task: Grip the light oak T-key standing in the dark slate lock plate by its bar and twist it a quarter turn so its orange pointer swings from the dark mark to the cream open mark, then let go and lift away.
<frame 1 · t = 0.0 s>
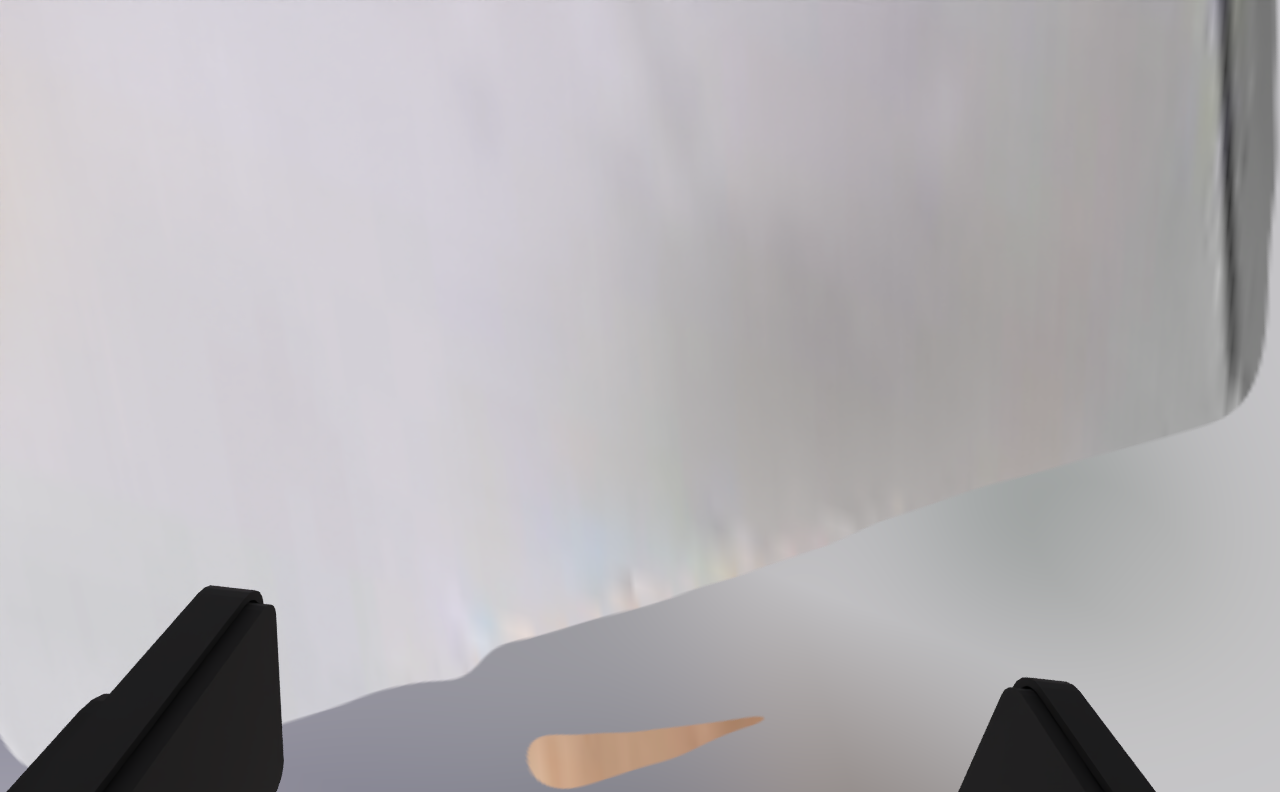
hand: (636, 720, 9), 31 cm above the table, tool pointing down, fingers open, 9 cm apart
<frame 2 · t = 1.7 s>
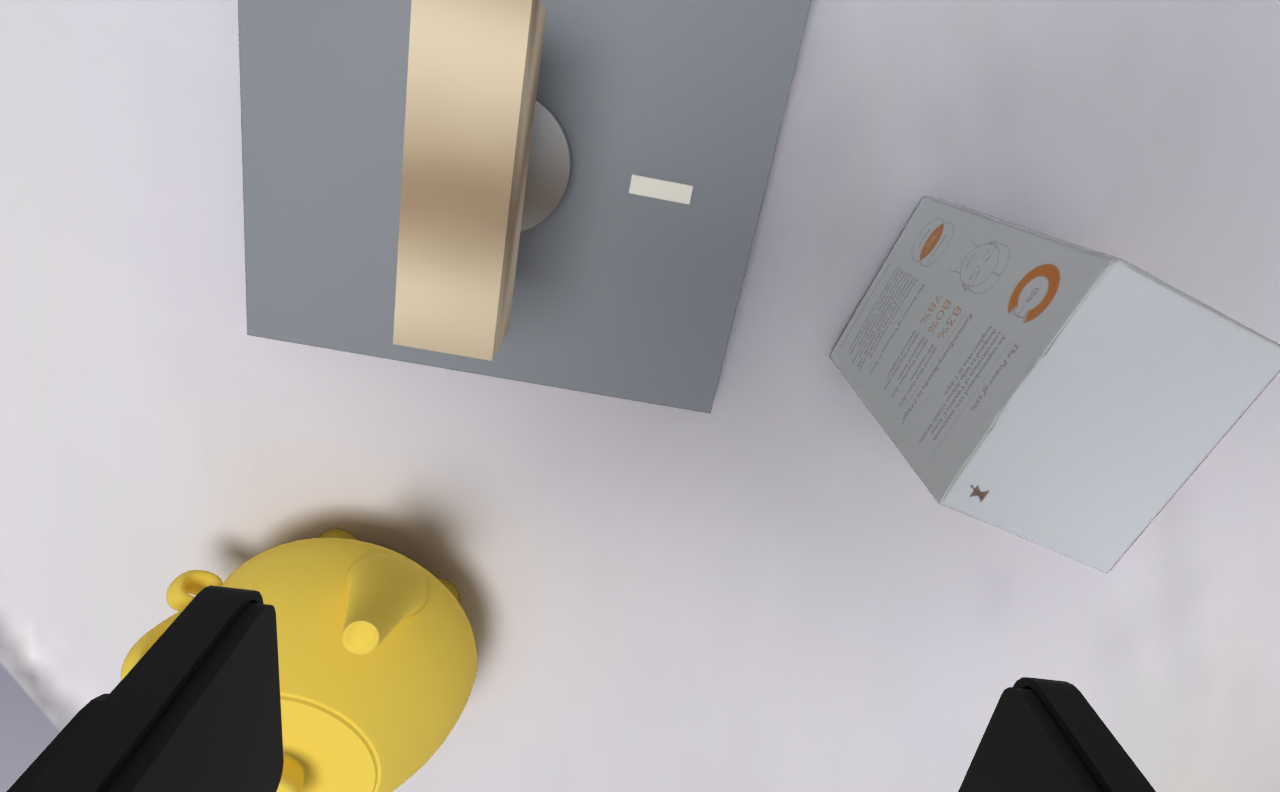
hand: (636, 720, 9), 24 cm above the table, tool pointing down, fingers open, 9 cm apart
small box: (931, 305, 32), on the table
t key: (485, 170, 24), point 6 cm above the table, hinge at 0.0°
lock plate: (515, 155, 29), on the table
teapot: (352, 598, 38), on the table
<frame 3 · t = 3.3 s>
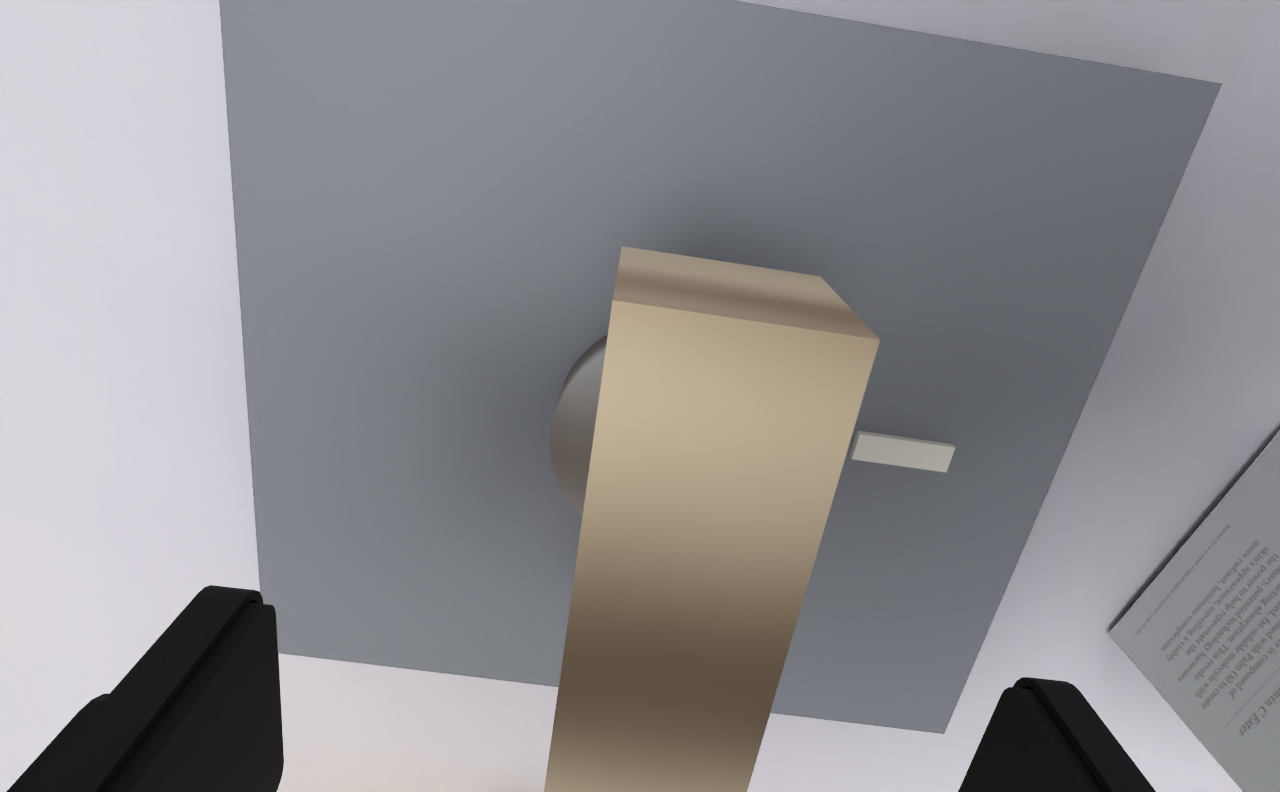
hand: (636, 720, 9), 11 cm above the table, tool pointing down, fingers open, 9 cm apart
small box: (1266, 562, 22), on the table
t key: (665, 510, 14), point 6 cm above the table, hinge at 0.0°
lock plate: (660, 385, 19), on the table
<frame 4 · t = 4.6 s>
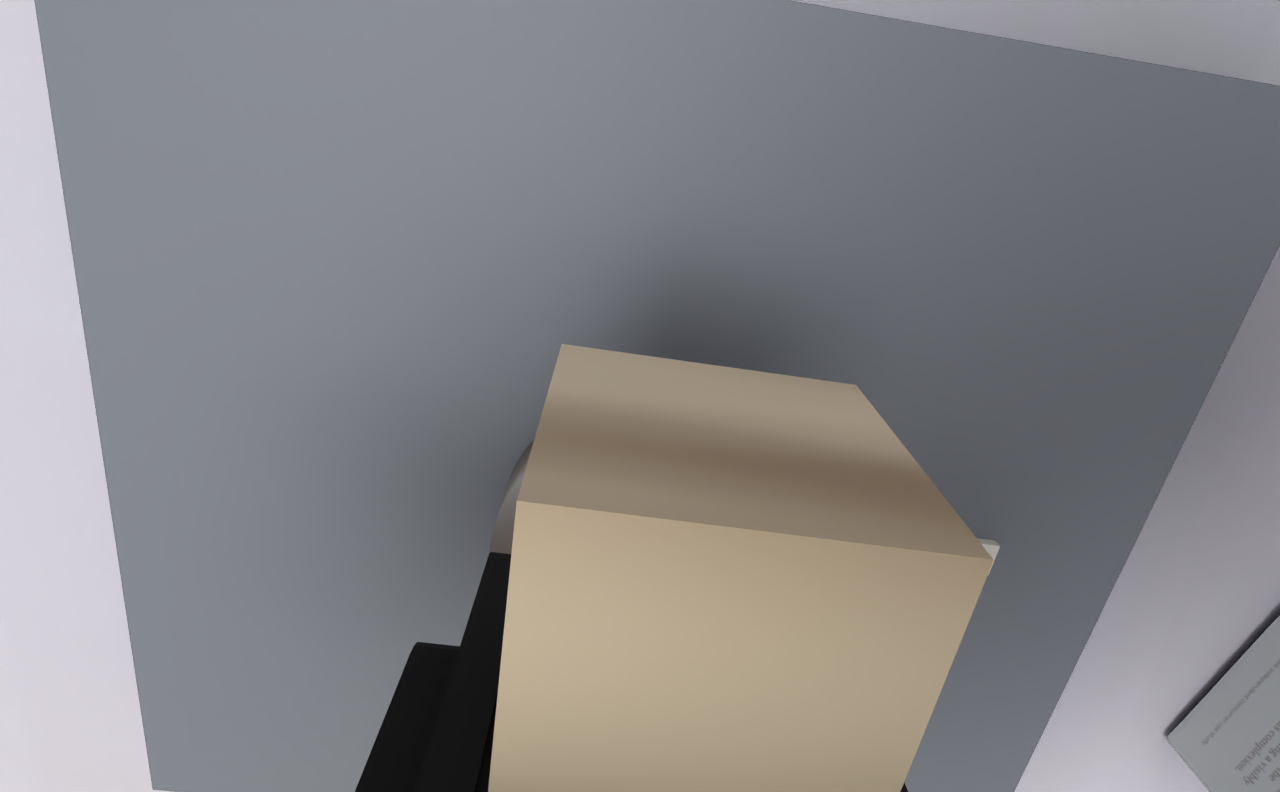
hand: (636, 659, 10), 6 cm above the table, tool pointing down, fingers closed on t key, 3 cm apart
t key: (636, 674, 10), point 6 cm above the table, hinge at 0.0°, touching gripper
lock plate: (634, 463, 16), on the table
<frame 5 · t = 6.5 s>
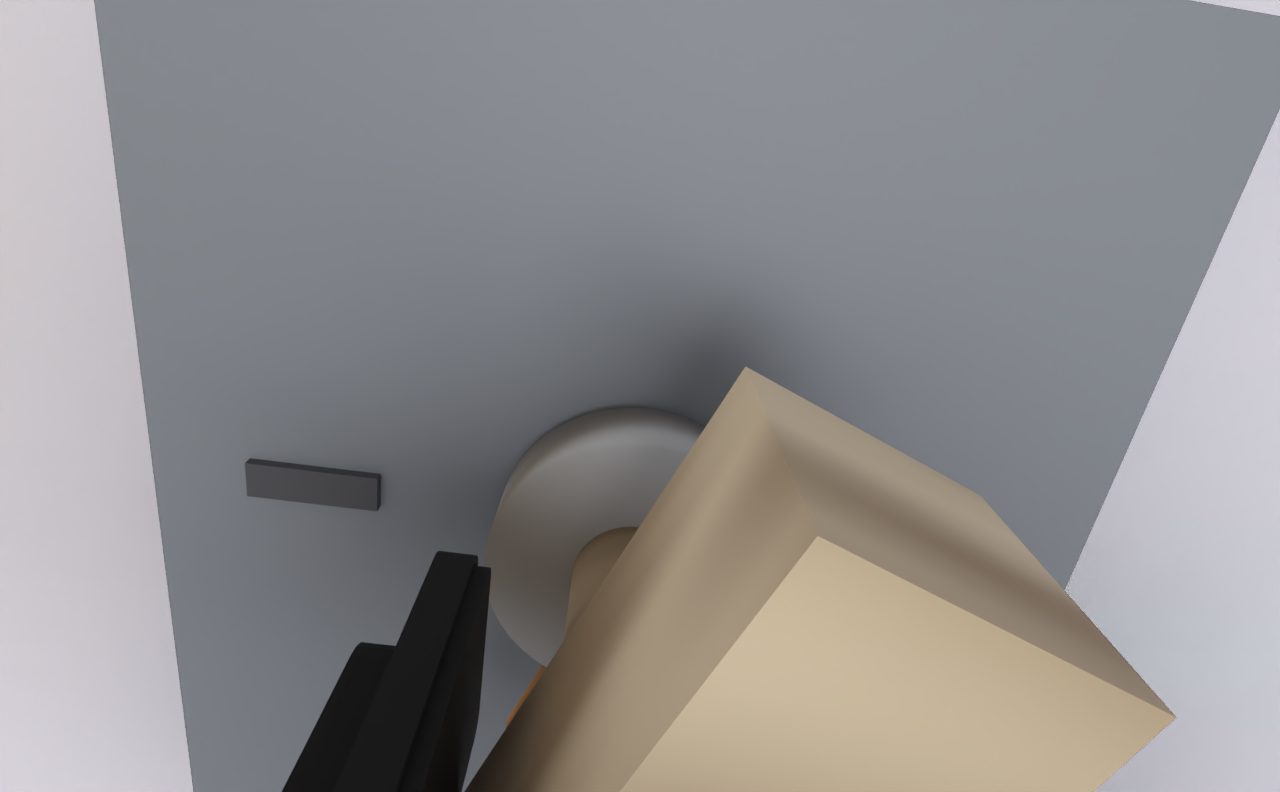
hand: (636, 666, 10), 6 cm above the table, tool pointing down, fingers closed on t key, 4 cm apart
t key: (630, 687, 10), point 6 cm above the table, hinge at 68.6°, touching gripper
lock plate: (631, 470, 16), on the table
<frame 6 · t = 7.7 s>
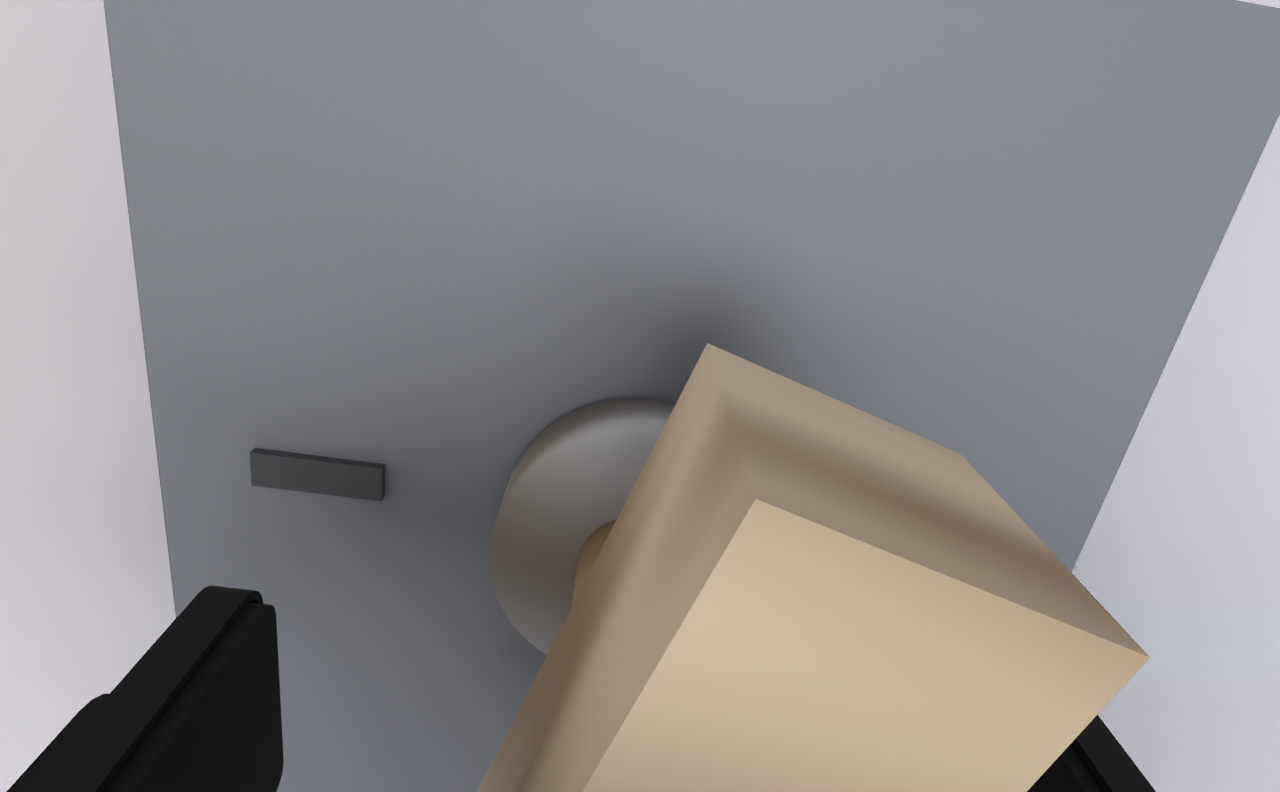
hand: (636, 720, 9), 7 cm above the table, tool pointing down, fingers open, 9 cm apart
t key: (636, 674, 10), point 6 cm above the table, hinge at 74.1°
lock plate: (634, 463, 16), on the table
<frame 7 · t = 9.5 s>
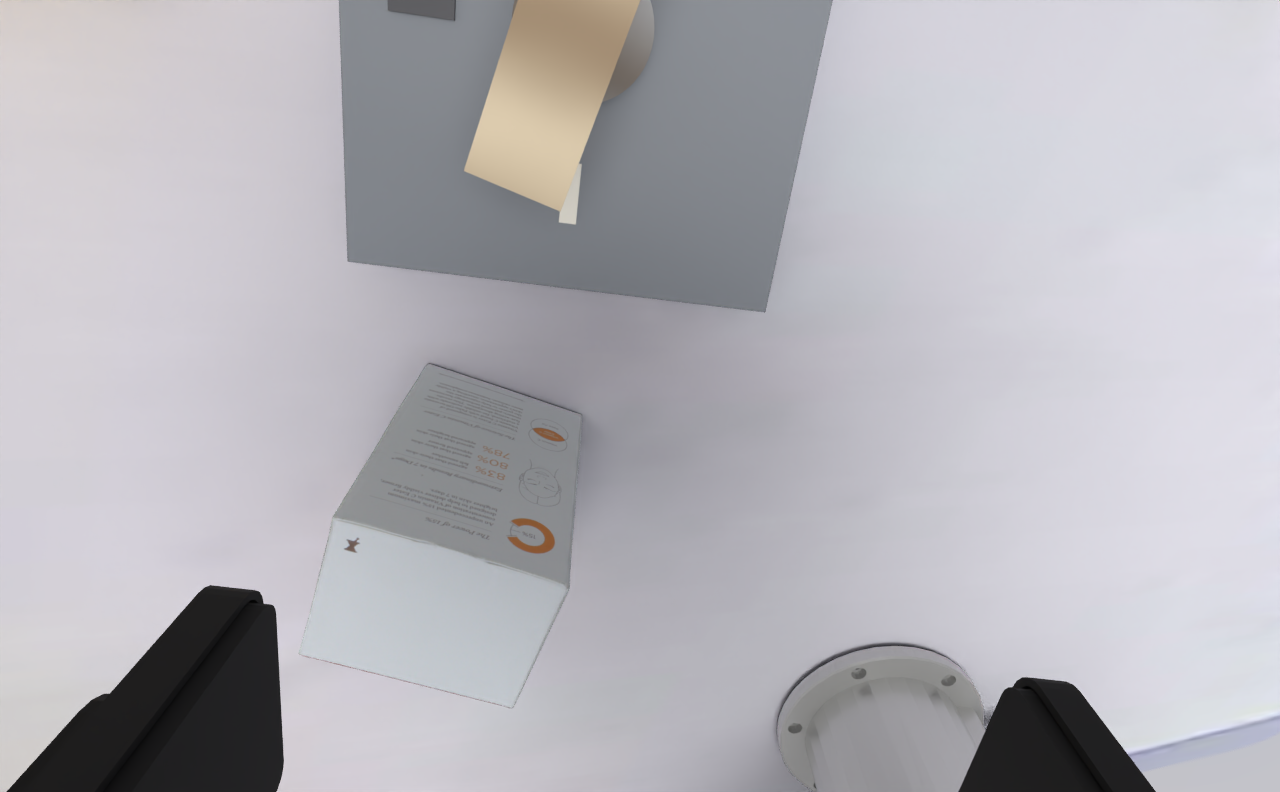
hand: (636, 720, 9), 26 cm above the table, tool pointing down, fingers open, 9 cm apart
small box: (489, 438, 36), on the table
t key: (580, 23, 23), point 6 cm above the table, hinge at 74.5°
lock plate: (587, 32, 29), on the table
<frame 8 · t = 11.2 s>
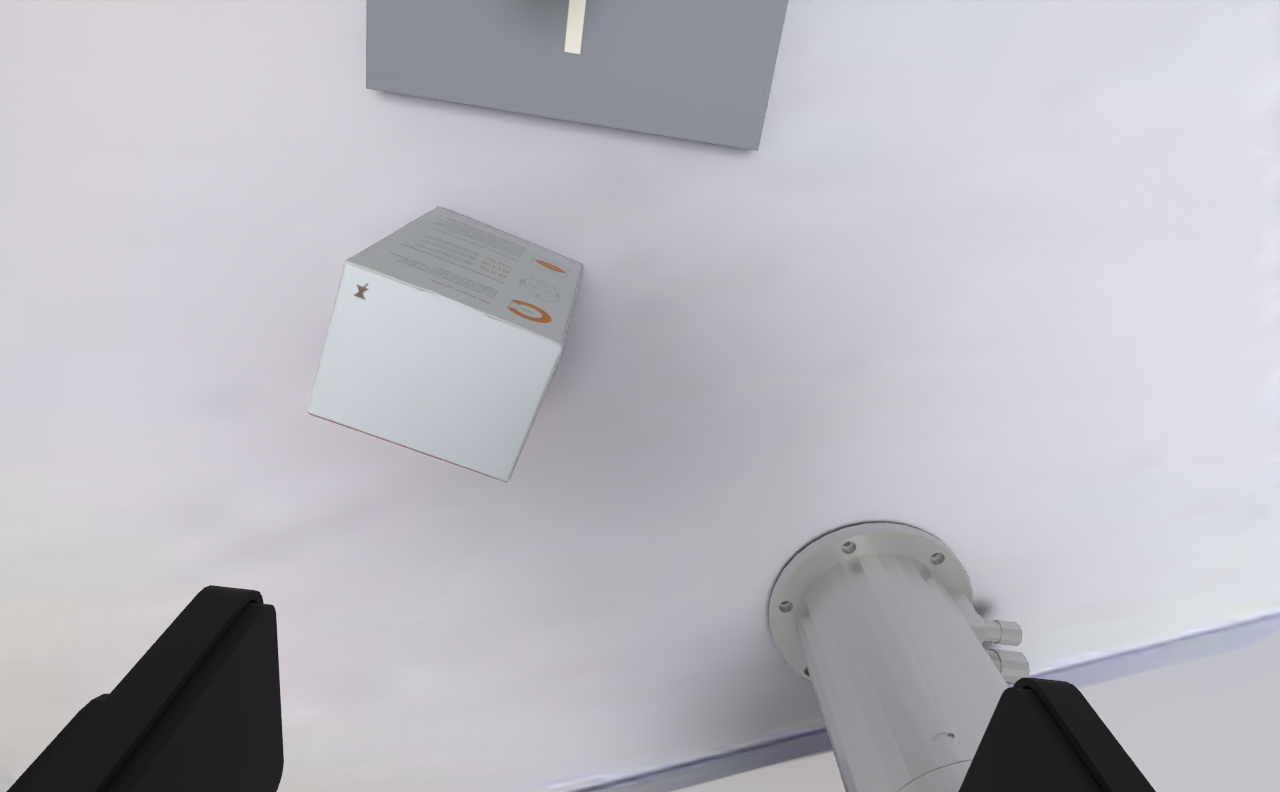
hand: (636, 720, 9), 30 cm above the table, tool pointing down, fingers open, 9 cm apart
small box: (494, 289, 38), on the table
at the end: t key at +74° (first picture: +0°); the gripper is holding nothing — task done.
